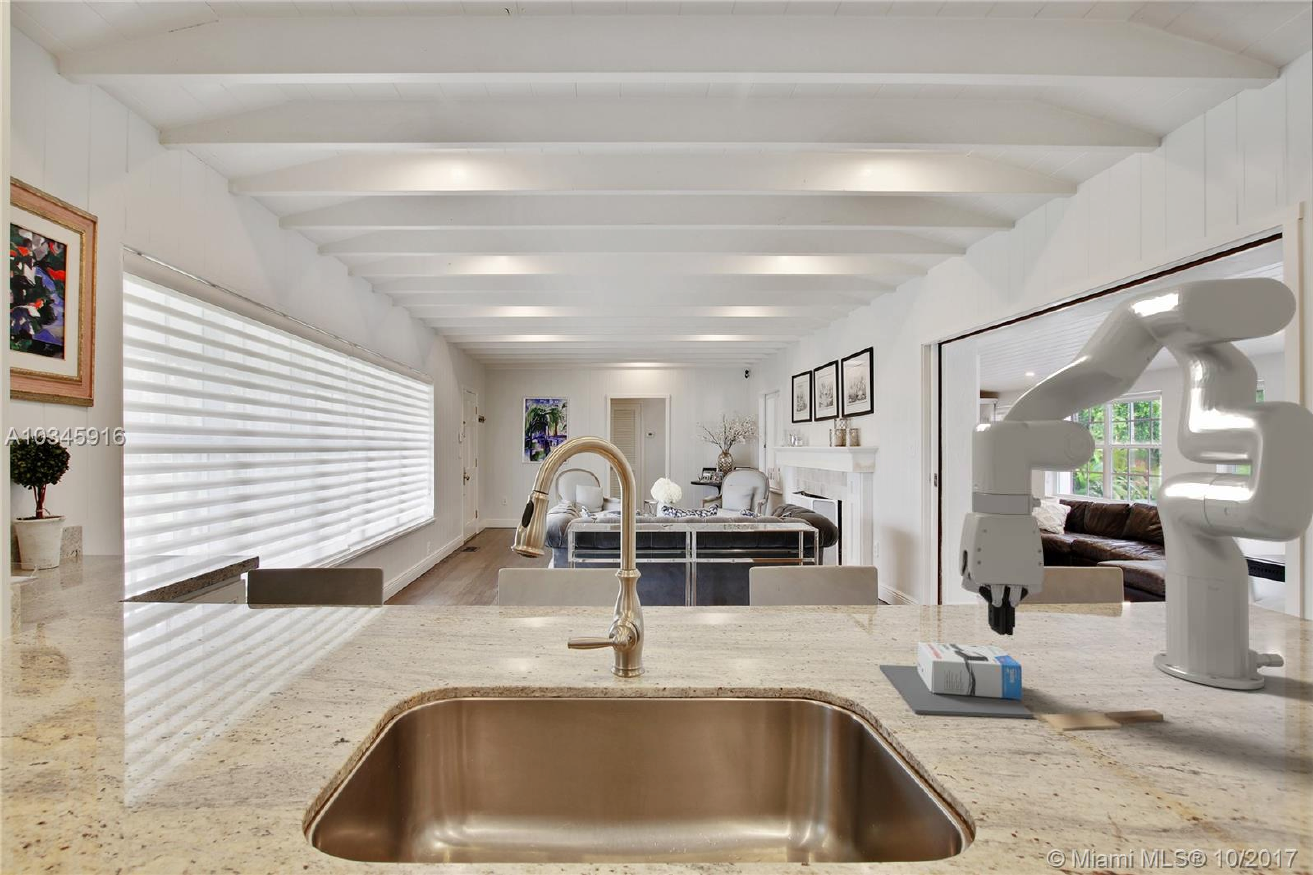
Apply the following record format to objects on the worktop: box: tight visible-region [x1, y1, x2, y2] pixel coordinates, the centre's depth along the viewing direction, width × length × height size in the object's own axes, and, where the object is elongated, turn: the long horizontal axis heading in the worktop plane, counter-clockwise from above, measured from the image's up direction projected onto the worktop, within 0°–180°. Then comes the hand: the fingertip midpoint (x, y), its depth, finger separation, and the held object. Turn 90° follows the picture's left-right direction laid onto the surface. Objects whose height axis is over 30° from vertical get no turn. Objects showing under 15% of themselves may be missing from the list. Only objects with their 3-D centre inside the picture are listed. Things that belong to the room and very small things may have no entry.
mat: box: [879, 664, 1034, 719], centre depth 85 cm, size 15×16×1 cm
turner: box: [1041, 709, 1164, 731], centre depth 76 cm, size 15×4×1 cm, turn 95°
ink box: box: [916, 641, 1023, 700], centre depth 86 cm, size 8×5×12 cm
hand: (1001, 632), depth 85 cm, fingers closed
